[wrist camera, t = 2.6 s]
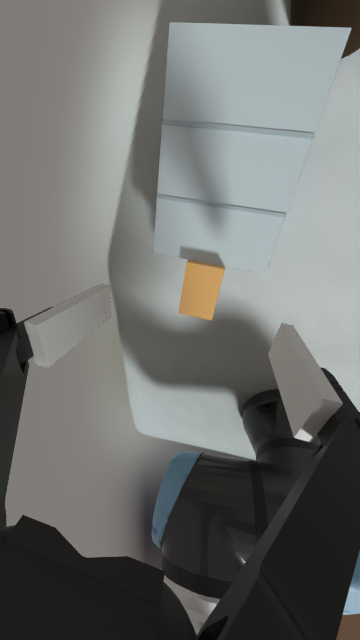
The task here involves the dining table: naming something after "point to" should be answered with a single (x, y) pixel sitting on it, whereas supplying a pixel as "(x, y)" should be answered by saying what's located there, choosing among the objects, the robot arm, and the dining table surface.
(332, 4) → the brown tall rounded piece
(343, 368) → the dining table surface
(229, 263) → the lid
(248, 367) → the dining table surface
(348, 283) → the dining table surface
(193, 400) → the dining table surface
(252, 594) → the robot arm
